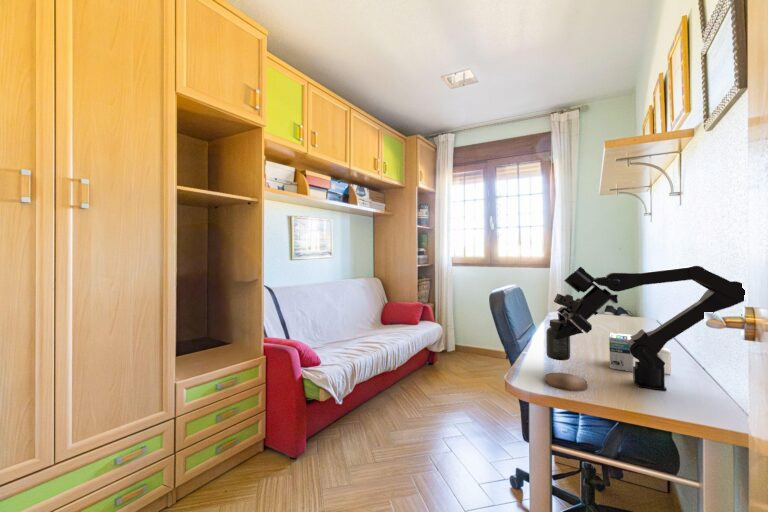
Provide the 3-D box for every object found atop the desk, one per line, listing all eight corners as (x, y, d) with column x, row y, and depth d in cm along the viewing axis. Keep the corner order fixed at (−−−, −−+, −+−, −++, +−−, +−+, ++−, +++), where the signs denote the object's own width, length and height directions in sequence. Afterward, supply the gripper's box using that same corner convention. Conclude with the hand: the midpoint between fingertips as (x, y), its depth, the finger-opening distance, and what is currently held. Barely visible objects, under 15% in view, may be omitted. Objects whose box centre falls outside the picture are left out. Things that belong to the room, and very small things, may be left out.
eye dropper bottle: (667, 376, 104) (666, 338, 104) (646, 371, 109) (645, 335, 109) (673, 374, 106) (672, 337, 107) (652, 369, 111) (651, 333, 111)
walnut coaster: (585, 380, 100) (585, 376, 100) (589, 393, 90) (589, 388, 90) (545, 375, 105) (545, 370, 105) (544, 386, 95) (544, 381, 95)
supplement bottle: (547, 352, 111) (547, 317, 111) (570, 355, 108) (570, 319, 107) (545, 358, 106) (545, 322, 105) (569, 362, 102) (569, 324, 101)
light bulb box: (633, 372, 108) (633, 339, 108) (609, 368, 112) (608, 337, 112) (633, 364, 116) (633, 334, 116) (610, 361, 120) (610, 331, 121)
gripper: (563, 283, 115) (530, 314, 117) (578, 287, 97) (538, 323, 100) (589, 306, 112) (554, 337, 115) (609, 314, 94) (568, 350, 97)
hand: (553, 336), depth 107 cm, fingers closed on supplement bottle, 7 cm apart
